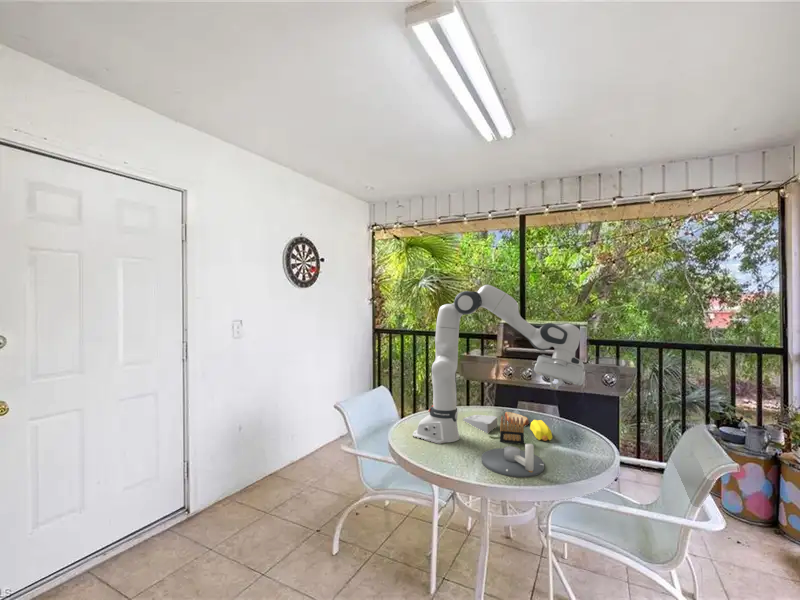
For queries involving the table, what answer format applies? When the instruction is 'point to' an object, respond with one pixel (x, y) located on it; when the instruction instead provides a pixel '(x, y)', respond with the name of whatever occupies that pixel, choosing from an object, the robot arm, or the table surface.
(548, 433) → the yellow faceted oblong piece
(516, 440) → the ammunition clip
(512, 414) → the bread slice
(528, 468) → the dial lever
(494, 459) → the dial plate
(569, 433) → the table surface
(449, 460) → the table surface
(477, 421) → the ramp
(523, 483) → the table surface
